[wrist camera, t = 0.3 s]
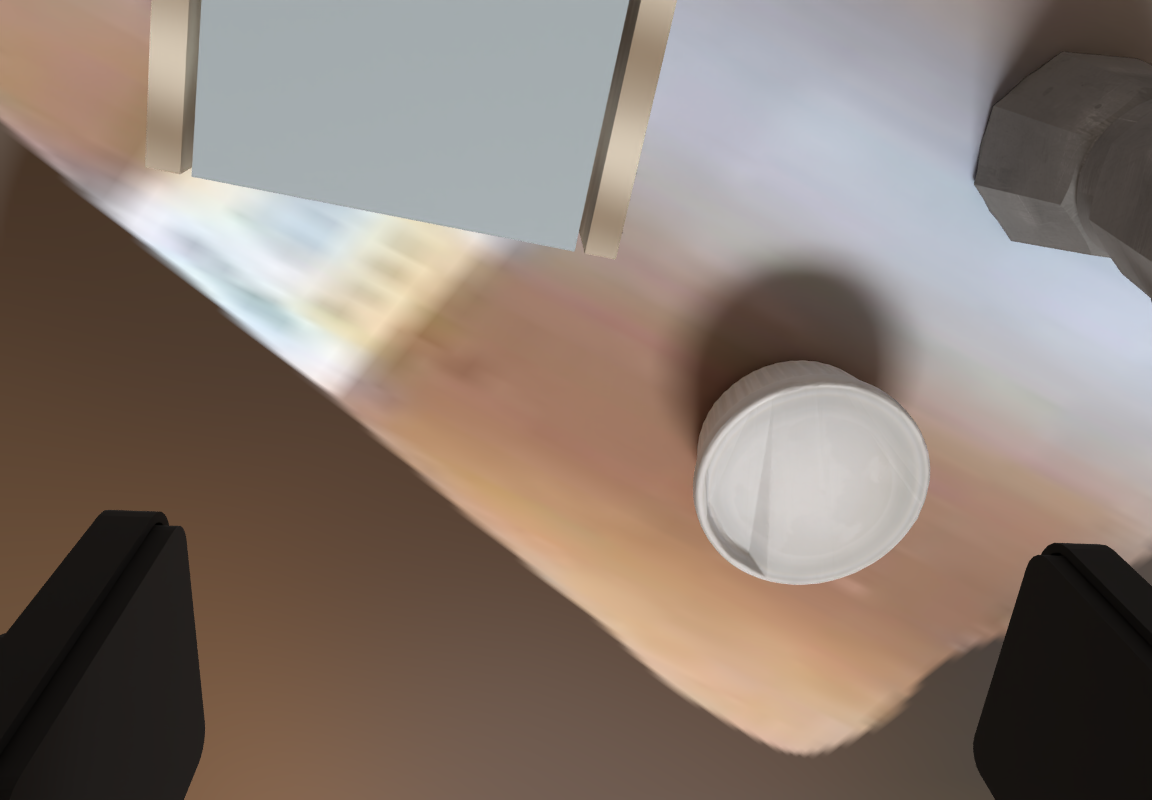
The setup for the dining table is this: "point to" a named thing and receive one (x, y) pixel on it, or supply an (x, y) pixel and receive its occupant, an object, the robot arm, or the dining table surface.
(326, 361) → the dining table surface
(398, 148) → the trapdoor
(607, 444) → the dining table surface
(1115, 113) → the coffeepot
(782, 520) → the ramekin
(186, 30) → the stand
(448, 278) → the dining table surface
